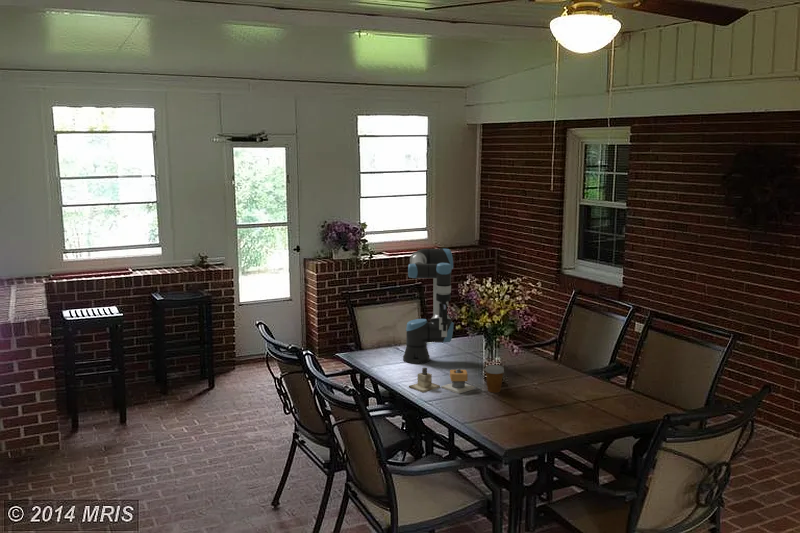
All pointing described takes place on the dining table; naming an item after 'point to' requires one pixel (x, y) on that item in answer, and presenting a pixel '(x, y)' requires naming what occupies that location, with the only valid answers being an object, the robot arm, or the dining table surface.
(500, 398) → the dining table surface
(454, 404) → the dining table surface
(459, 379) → the ring
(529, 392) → the dining table surface
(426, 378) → the stand
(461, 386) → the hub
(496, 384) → the disposable coffee cup
